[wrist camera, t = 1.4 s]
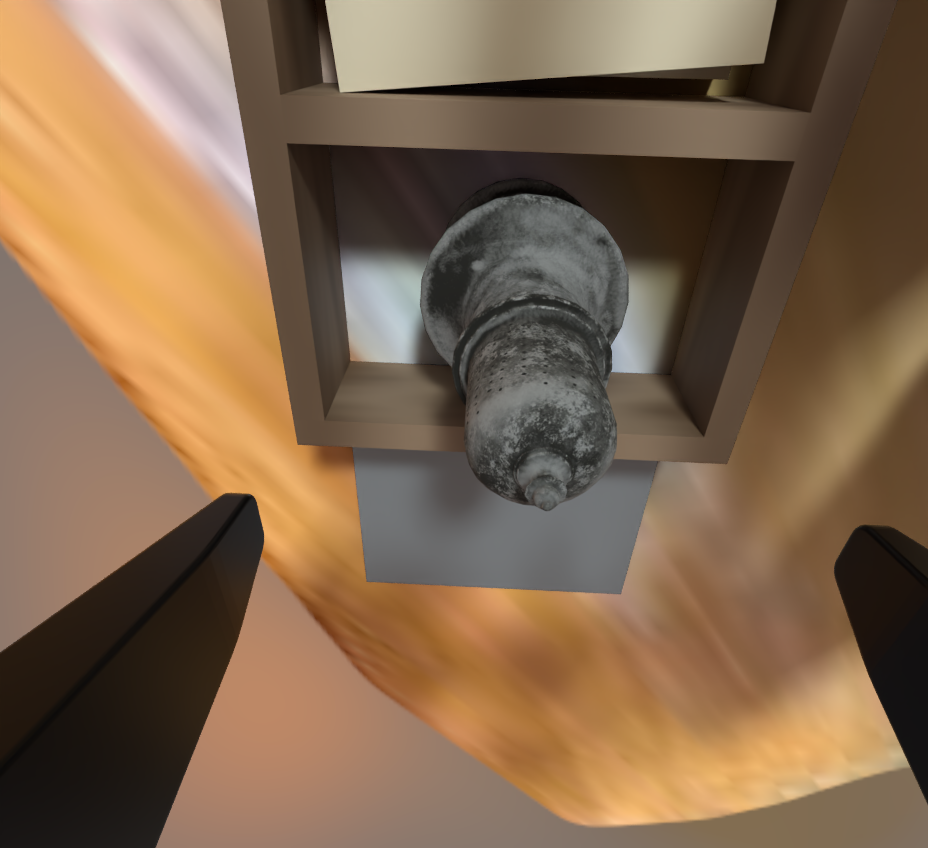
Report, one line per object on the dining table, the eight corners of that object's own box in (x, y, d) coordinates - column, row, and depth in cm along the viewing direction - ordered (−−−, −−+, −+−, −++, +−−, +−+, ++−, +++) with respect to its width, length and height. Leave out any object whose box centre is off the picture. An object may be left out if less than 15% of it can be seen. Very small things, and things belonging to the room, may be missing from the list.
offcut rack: (873, -213, 13) (1007, -300, 9) (691, 398, 22) (726, 464, 18) (249, -227, 13) (165, -317, 10) (326, 383, 22) (297, 444, 19)
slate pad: (654, 434, 23) (661, 449, 22) (616, 577, 27) (620, 594, 27) (356, 421, 23) (351, 436, 22) (370, 565, 28) (366, 581, 27)
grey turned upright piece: (619, 318, 20) (745, 596, 10) (460, 359, 21) (433, 643, 11) (591, 141, 17) (733, 292, 7) (406, 200, 18) (302, 400, 8)
